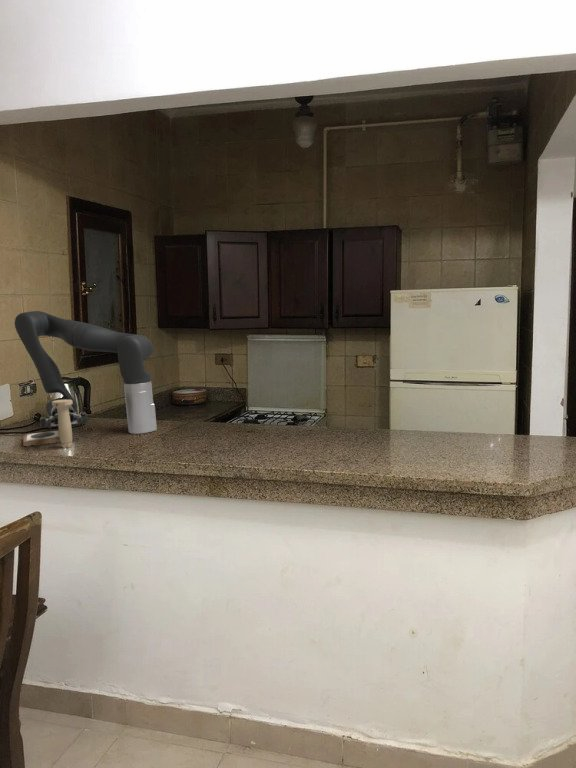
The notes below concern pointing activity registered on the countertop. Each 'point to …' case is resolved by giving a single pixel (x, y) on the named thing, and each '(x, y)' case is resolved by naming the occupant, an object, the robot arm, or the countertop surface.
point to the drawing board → (41, 438)
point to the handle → (64, 422)
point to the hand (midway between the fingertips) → (64, 423)
